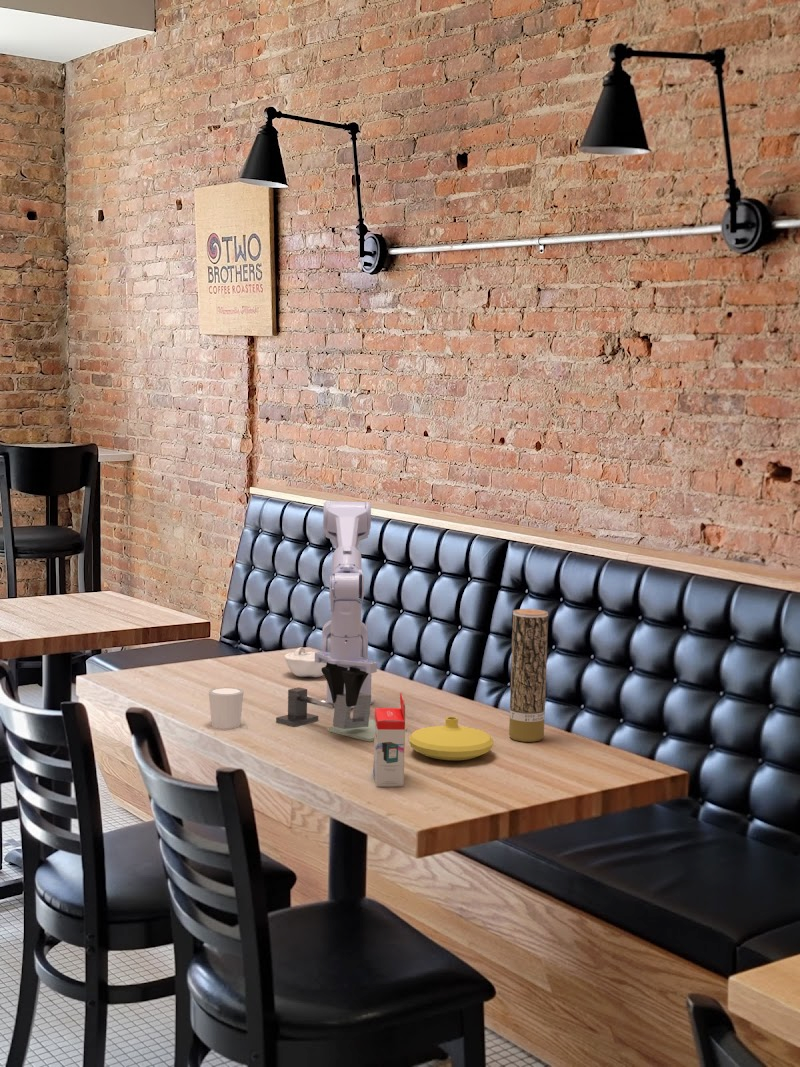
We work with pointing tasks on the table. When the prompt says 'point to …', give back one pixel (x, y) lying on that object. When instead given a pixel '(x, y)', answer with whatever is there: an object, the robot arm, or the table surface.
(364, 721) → the grey hollow frame block
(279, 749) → the table surface
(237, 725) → the white cup
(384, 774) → the ink box
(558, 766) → the table surface
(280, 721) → the post
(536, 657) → the paper tube
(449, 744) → the vase
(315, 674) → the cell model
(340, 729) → the coaster
